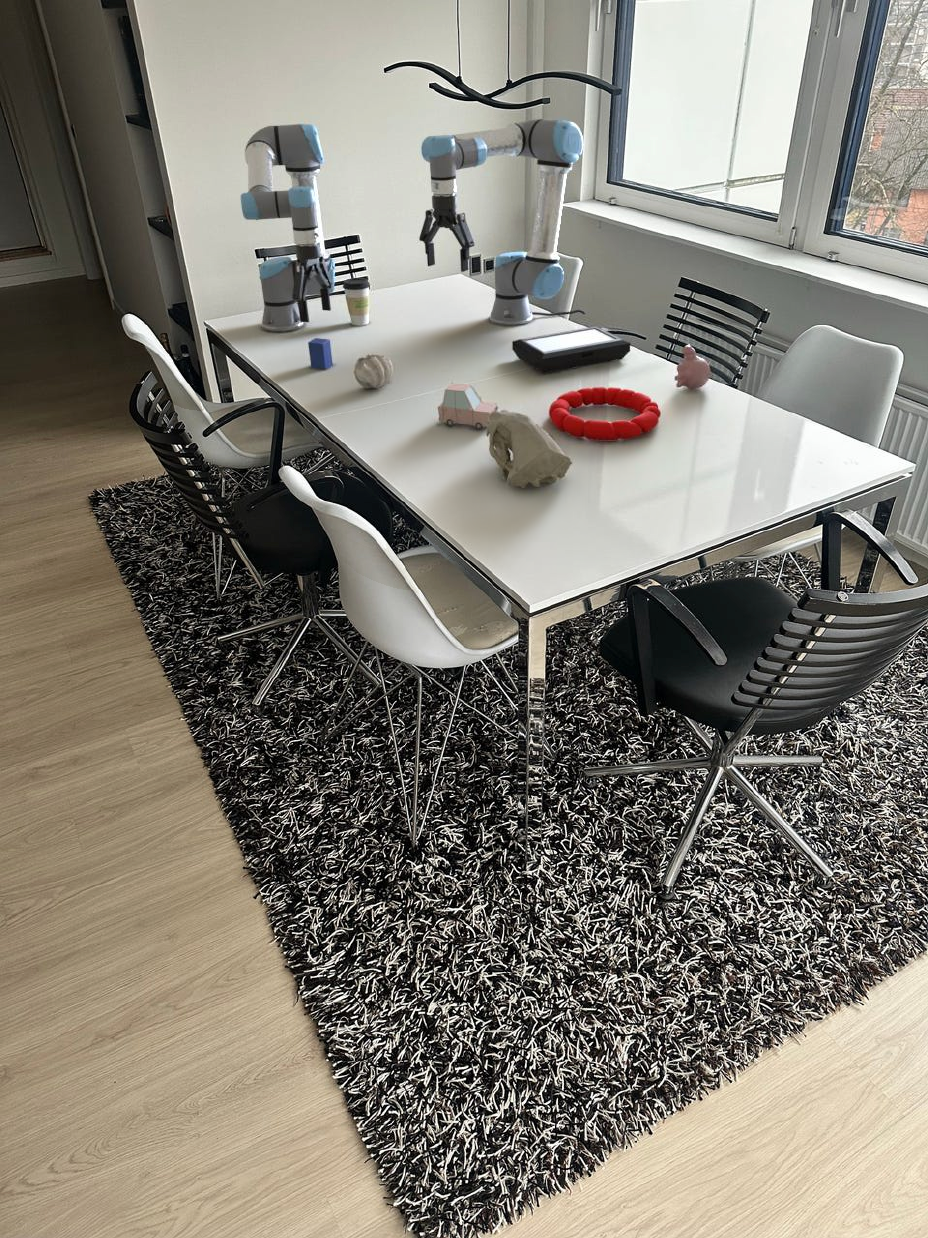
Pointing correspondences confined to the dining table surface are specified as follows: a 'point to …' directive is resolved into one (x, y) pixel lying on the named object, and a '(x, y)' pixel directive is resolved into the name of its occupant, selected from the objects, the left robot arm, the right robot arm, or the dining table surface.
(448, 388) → the toy car
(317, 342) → the brick
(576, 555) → the dining table surface
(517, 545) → the dining table surface
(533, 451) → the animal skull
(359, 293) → the coffee cup
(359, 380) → the seashell
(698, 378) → the figurine
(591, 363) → the electronic device
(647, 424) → the decorative ring
